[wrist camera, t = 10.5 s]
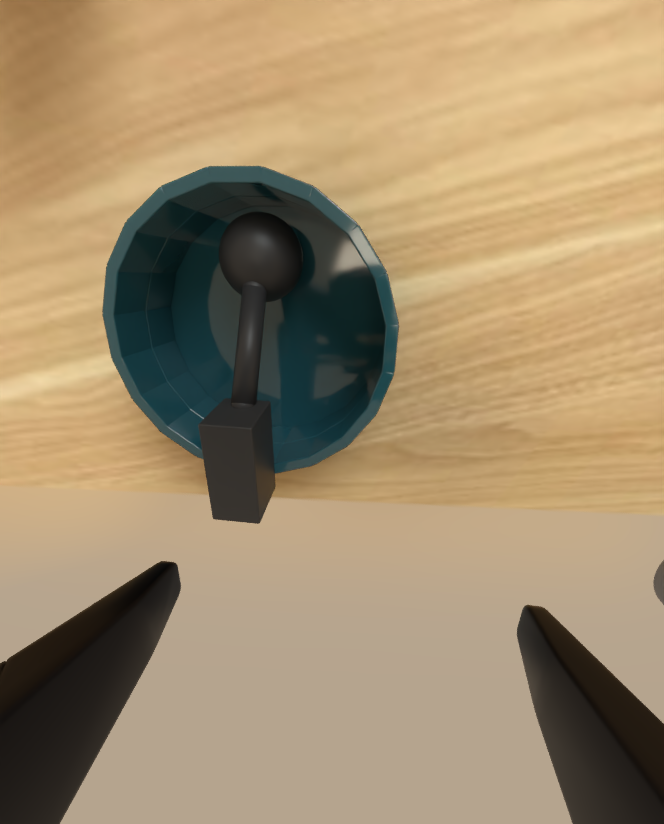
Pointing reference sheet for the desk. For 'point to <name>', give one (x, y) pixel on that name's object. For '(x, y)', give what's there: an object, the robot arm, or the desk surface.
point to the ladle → (248, 368)
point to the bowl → (220, 309)
